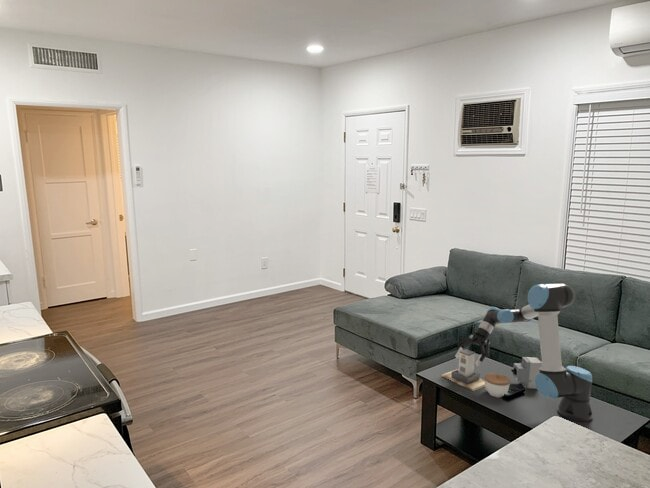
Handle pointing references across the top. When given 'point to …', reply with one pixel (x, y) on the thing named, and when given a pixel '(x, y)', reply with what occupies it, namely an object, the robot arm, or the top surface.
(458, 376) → the socket collar
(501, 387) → the lidded bowl
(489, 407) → the top surface
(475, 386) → the mount board
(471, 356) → the power strip
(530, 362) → the circuit breaker
